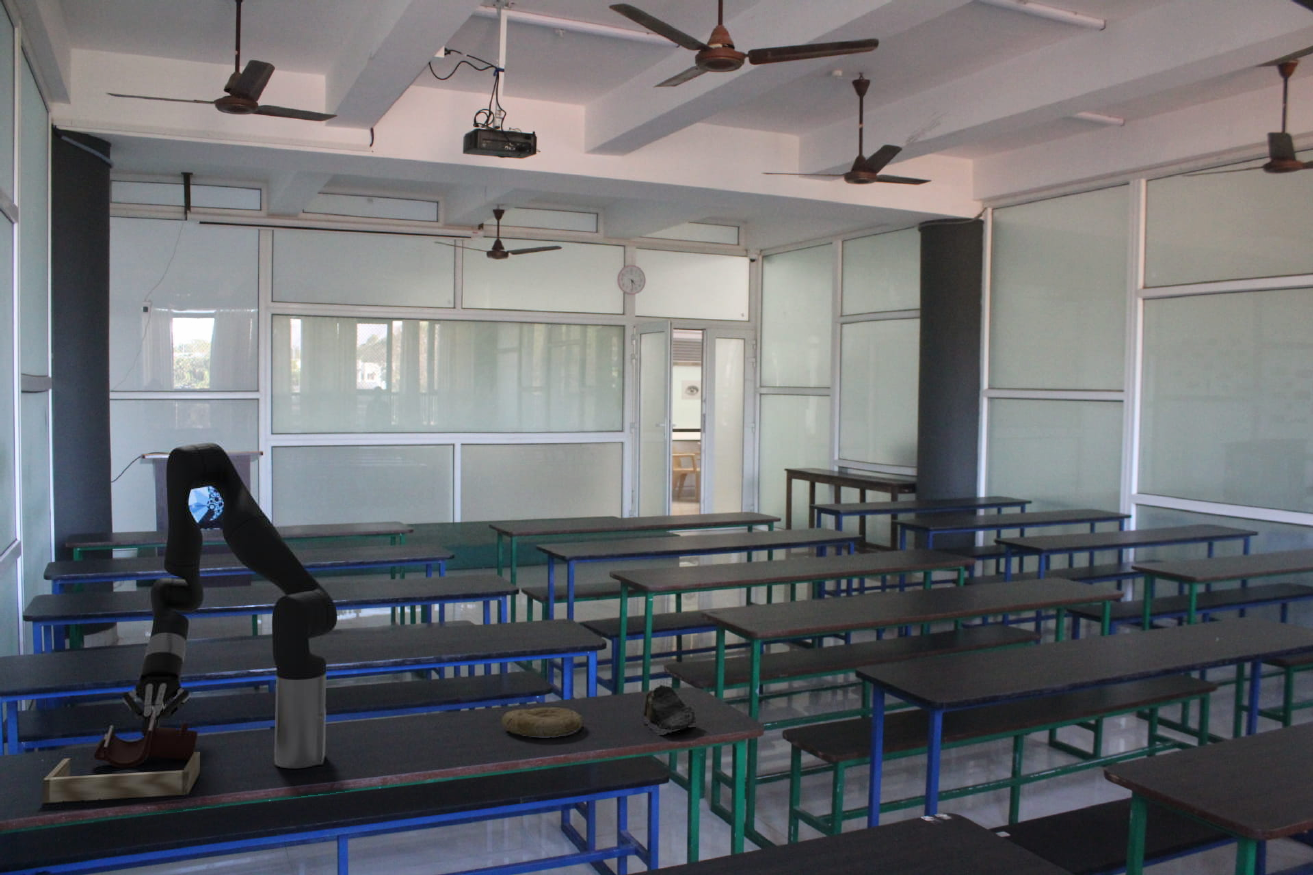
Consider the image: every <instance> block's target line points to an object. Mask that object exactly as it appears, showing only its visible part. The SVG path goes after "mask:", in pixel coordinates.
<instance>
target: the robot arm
mask: <svg viewBox="0 0 1313 875" xmlns="http://www.w3.org/2000/svg"><path fill="white" fill-rule="evenodd" d="M166 462H167V463H166V470H165V471H166V472H165V473H166V474H165V476H166V482H165V483H166V502H167V503H166V504H167V518H168V519H167V520H168V522H167V523H168V524H167V527H168V528H167V537H166V538H167V540H166V547H165V554H164V560H163V568H164V570H165V571H166V572H167V574H169V575H172V576H174V577H178V578H172V577H162V578H159V579H157V580H156V581H155V582H154V583H153V585H152V586H151V589H150V603H151V608H152V616H153V618H152V626H151V627H152V628H151V632H150V637H149V640H148V644H147V645H146V649H145V654H144V658H143V662H142V667H141V671H140V672H141V673H140V676H139V680H138V682H137V684H135V686H134V687H135V688H134V689H133V690H132V691H129V692H123V693H122V694H121V697H122V701H123V703H124V705H125V706H126V707H127V709H129V711H130V712H131V713H132V714H133V716H134V717H135V719H136V720H138V721H142V724H141V729H140V731H141V734H142V737H144V736H145V735H146V734H147V732H148V729H149V725H150V721H151V717H152V713H153V710H157V716H156V724H155V727H160V724H161V721H162V720H164V719H166V720H167V719H168V720H169V719H171V718H172V717H173V716H174V715H175V714H176V713H177V712H179V711H180V710H181V708H183V707H185V705H186V704H187V703H188V702H189V701H190V700H191V694H190V693H189V690H187V689H185V690H184V689H183V688H182V686H181V685H182V684H181V677H182V674H183V673H182V672H183V666H184V662H185V659H186V646H187V645H186V644H187V640H188V633H189V628H190V621H189V619H188V618H187V617H186V616H185V615H184V614H182V613H193V612H195V611H198V609H200V608H201V606H202V604H203V603H204V602H203V601H204V594H205V593H204V587H203V583H202V579H201V572H200V571H201V570H200V568H201V567H200V563H201V557H202V552H203V551H202V549H203V545H204V544H203V543H204V542H203V541H204V539H203V533H202V529H201V527H200V525H199V523H198V521H197V520H196V519H195V516H194V514H193V513H192V510H191V508H190V504H189V503H190V496H191V492H192V490H197V489H202V488H209V487H212V488H213V489H215V491H216V492H217V493H218V494H219V497H220V498H221V500H222V502H223V505H224V506H223V509H224V510H223V516H222V528H221V531H222V535H223V536H222V537H223V538H224V541H225V543H226V544H227V545H228V547H229V549H230V550H231V552H232V553H233V554H234V556H235V557H236V558H237V560H238V561H239V562H240V563H241V564H242V565H243V566H244V567H246V568H247V569H248V570H250V571H251V572H253V573H255V574H256V575H258V576H260V577H261V578H263V579H265V580H266V581H268V582H270V583H272V584H273V585H274V586H276V587H277V588H278V589H280V591H282V593H283V594H284V595H283V596H281V597H280V598H279V599H278V600H277V601H276V603H275V604H274V607H273V610H272V615H271V635H272V636H271V638H272V639H271V640H272V641H271V642H272V643H271V644H272V658H273V662H274V665H275V669H276V676H275V678H276V679H275V680H276V681H275V684H276V685H275V686H276V687H275V715H274V716H275V717H274V718H275V720H274V726H275V727H274V753H273V755H274V765H275V766H277V767H280V768H284V769H304V768H309V767H314V766H317V765H323V764H324V761H325V758H326V757H325V756H326V730H327V729H326V727H327V725H326V724H327V708H326V696H327V695H326V694H327V693H326V692H327V690H326V689H327V688H326V687H327V661H326V658H324V657H323V656H322V655H319V654H315V653H311V651H310V640H309V639H313V638H317V637H321V636H325V635H326V634H330V633H331V632H332V631H333V630H334V629H335V627H336V626H337V623H338V611H337V610H338V609H337V608H336V604H335V602H334V601H333V598H332V597H331V595H330V594H329V593H328V592H327V590H326V589H325V588H324V587H323V586H322V585H321V584H320V583H319V581H317V580H316V578H315V577H314V576H313V575H311V573H310V572H309V571H308V570H307V568H306V567H304V565H303V564H302V562H301V561H300V560H299V558H298V557H297V556H296V555H295V553H294V552H293V551H292V550H291V548H290V547H289V546H288V545H287V543H286V542H285V540H284V539H283V537H282V535H280V532H278V529H277V528H276V527H275V526H274V524H273V523H272V522H271V520H270V519H269V517H268V516H267V515H266V514H265V512H264V511H263V510H262V509H261V507H260V506H259V504H258V502H256V500H255V499H254V497H253V495H252V494H251V492H250V491H249V490H248V488H247V486H246V485H245V483H244V482H243V480H242V478H241V476H240V474H239V473H238V470H237V469H236V467H235V465H234V464H233V461H232V459H231V458H230V456H229V455H228V453H227V451H225V450H224V449H223V447H222V446H220V445H219V444H217V443H215V442H204V443H196V444H188V445H183V446H178V447H175V448H173V449H172V450H171V451H170V453H169V454H168V457H167V461H166ZM180 612H181V613H180ZM137 696H138V698H139V699H140V701H141V702H142V703H143V704H144V708H143V709H144V710H142V709H141V708H140V706H139V704H137V699H138V698H137Z"/></svg>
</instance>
